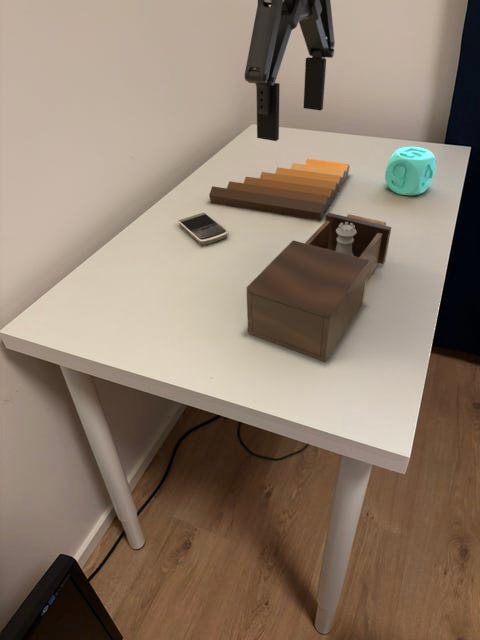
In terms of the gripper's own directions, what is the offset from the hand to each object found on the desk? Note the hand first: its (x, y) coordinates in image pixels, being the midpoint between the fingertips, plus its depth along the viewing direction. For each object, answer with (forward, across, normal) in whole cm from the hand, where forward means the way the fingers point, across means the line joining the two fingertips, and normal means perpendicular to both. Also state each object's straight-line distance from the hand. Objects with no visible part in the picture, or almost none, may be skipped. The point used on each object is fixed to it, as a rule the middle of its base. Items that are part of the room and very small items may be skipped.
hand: (291, 123), depth 66 cm
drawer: (+26, -9, +7) cm, 28 cm away
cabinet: (+27, +7, +7) cm, 28 cm away
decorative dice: (+27, -46, +7) cm, 54 cm away
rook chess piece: (+25, -6, +7) cm, 27 cm away
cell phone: (+27, -8, -23) cm, 36 cm away
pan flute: (+27, -33, -18) cm, 46 cm away
